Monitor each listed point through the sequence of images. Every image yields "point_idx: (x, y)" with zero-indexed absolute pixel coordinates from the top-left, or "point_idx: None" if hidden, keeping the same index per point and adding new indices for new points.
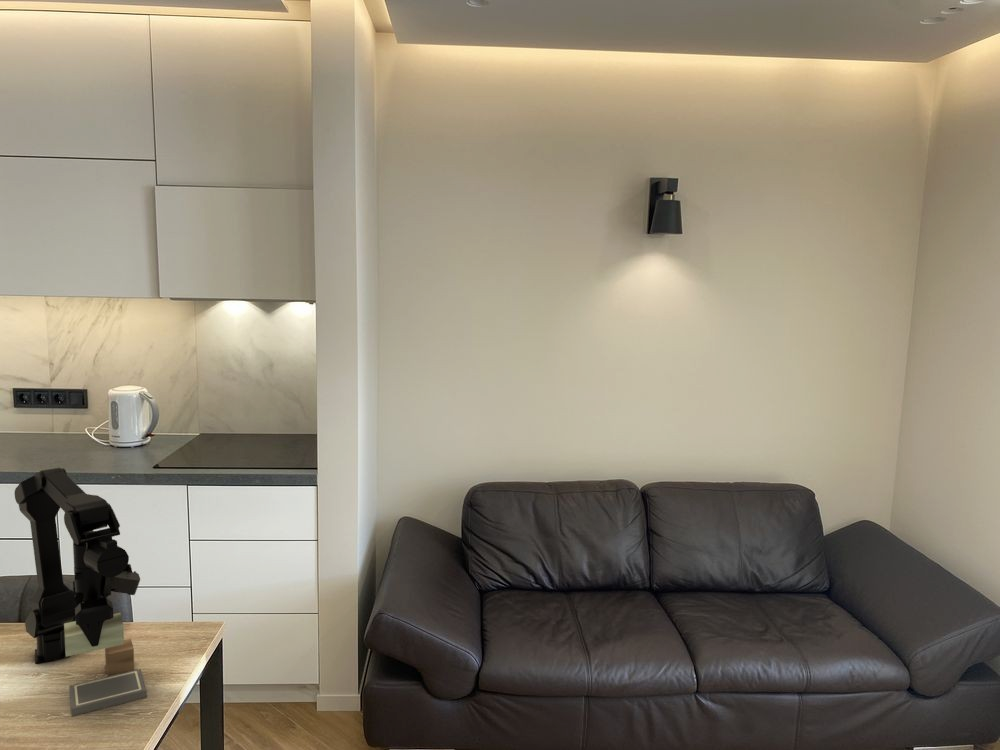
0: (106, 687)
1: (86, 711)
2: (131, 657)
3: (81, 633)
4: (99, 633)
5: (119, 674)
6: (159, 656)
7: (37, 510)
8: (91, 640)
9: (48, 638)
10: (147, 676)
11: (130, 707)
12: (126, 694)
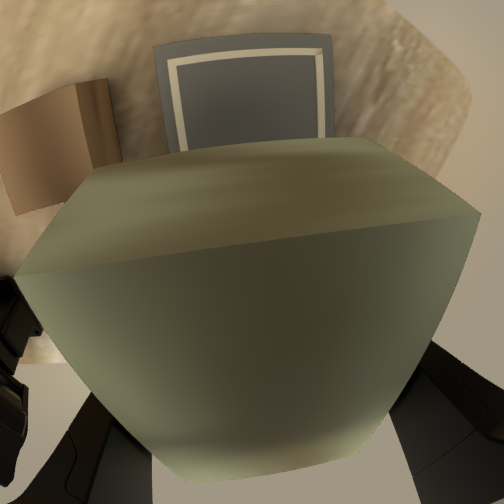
0: None
1: None
2: (91, 89)
3: (376, 427)
4: (446, 357)
5: (169, 120)
6: (39, 17)
7: None
8: None
9: (10, 358)
10: (165, 28)
11: (349, 86)
12: (330, 96)
